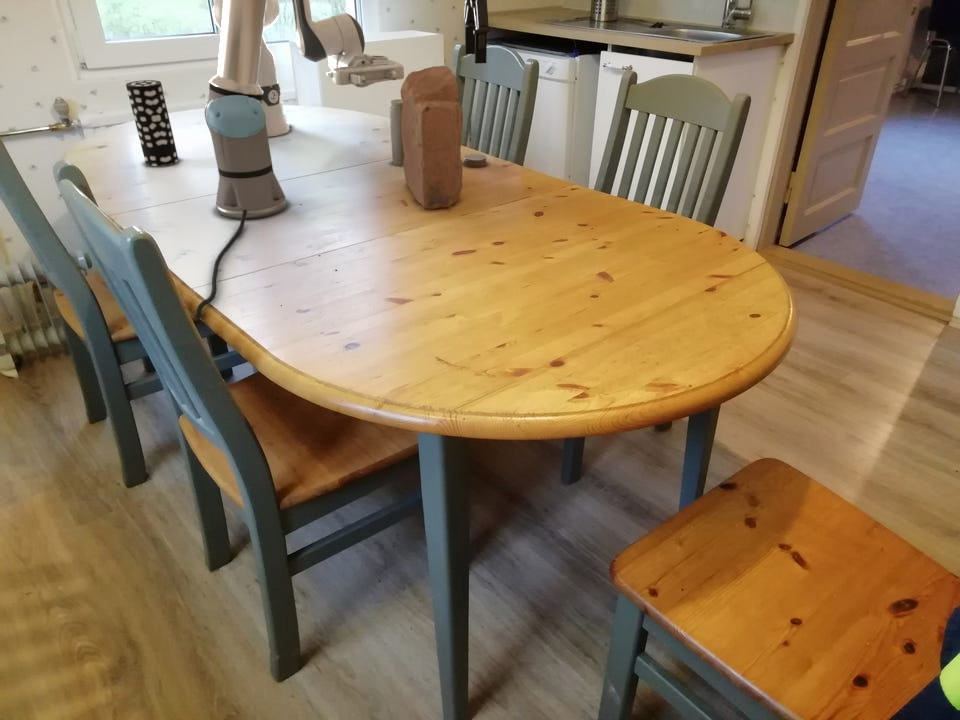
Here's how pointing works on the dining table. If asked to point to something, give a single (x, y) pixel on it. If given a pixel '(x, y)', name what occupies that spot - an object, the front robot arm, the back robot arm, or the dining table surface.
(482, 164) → the lid
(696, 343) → the dining table surface
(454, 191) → the stone
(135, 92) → the black white spotted cylinder
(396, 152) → the jar
